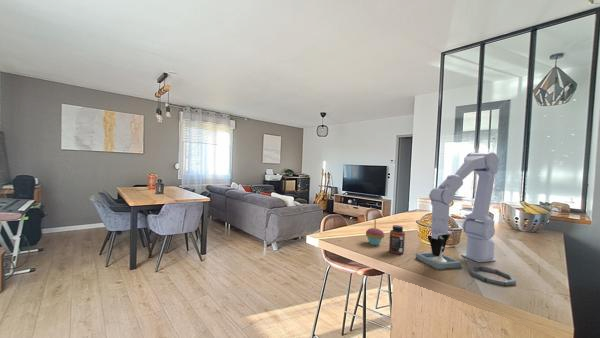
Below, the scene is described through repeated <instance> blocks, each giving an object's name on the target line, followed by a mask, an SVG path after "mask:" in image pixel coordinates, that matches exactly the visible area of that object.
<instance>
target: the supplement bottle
mask: <svg viewBox="0 0 600 338" xmlns="http://www.w3.org/2000/svg"><path fill="white" fill-rule="evenodd" d="M405 235H406V233H405V231H404V228H403V226H402V225H398V224H393V225H392V229H391V230H390V231H389V245H388V247H389V248H388V249H389V252H390V253H392V254H395V255H403V254H404V252H405V240H406V239H405V237H406V236H405Z"/></svg>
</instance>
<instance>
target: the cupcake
mask: <svg viewBox="0 0 600 338" xmlns="http://www.w3.org/2000/svg"><path fill="white" fill-rule="evenodd" d="M365 236H366V238H367V239H368V244H370V245H373V246H379V245H380V243H381V242H382V239H384V237H385V233H384V231H383V230H381V229H378V228H377V219H376V218H374V228H371V227H370V228H368V229H367V230H366V231H365Z"/></svg>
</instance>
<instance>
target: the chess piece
mask: <svg viewBox="0 0 600 338" xmlns="http://www.w3.org/2000/svg"><path fill="white" fill-rule="evenodd" d="M439 238H440V239H443V238H442V236H440V237H439ZM442 249H443V247H441V252H440V255H439V257H438V256H437V257H435V258H433V261H435V262H437V263H444V262H447V261H446V260H445V259H443V257H442V254H443V252H442Z"/></svg>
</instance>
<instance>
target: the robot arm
mask: <svg viewBox="0 0 600 338" xmlns="http://www.w3.org/2000/svg"><path fill="white" fill-rule="evenodd" d="M499 163H500V159H499V157H498V155H497V154H496V153H495V152H494V151H490V152H469V153H467V155H466V156H465V157H464V159H463V163H462V165H461V166H460V167H459V168H458V169H457V171H456V172H455V173H454V174H450V175H447V177H446V178H445V180H444V181H442V183H440V185H439V186H438V187H434V188H432V189H431V190H430V192H429V194H428V197H429V200H430V205H431V206H432V207H431V208H432V209H431V224H430V227H431V228H430V232H431V235H428V236H427V239H428V242H429V245H430V248H431V252H432V254H433V255H434V256H438V257H439V255H440V252H441V247H443V249H442V253H443V252H444V251H445V248H446V244H447V243H448V242H447V241H448V240H449V238H450V236H451V234H452V231H449V223H450V222H449V218H450V205H451V203H452V202H454V199H455V195H456V193H457V192H458V191H459V189H461V187H462V186H463V185H464V181H463V180H464V179H466V178H467V177H468V176H469V175H470V174H471V173H473V172H474V173H475V174H477V175H478V181H477V185H476V192H475V195H474V196H475V197H474V204H473V208H472V212H470V213H469V214H467V215H466V216H465V219H464V221H463V223H462V231H463V232H464V233H465V235H466V249H465V250H466V253H460V256H463V257H465V258H467V259H470V260H472V261H474V262H477V263H485V262H486V263H487V262H496V260H497V259H495V242H494V241H493V239H492V238H494V235H495V232H496V229H495V221H494V220H493V219H492V217H490V216H489V211H490V206H491V200H492V197H493V195H492V194H493V189H494V184H495V183H494V182H495V177H496V174H498V169H499ZM440 236H442V238H443V239H440V238H439V237H440Z"/></svg>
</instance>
